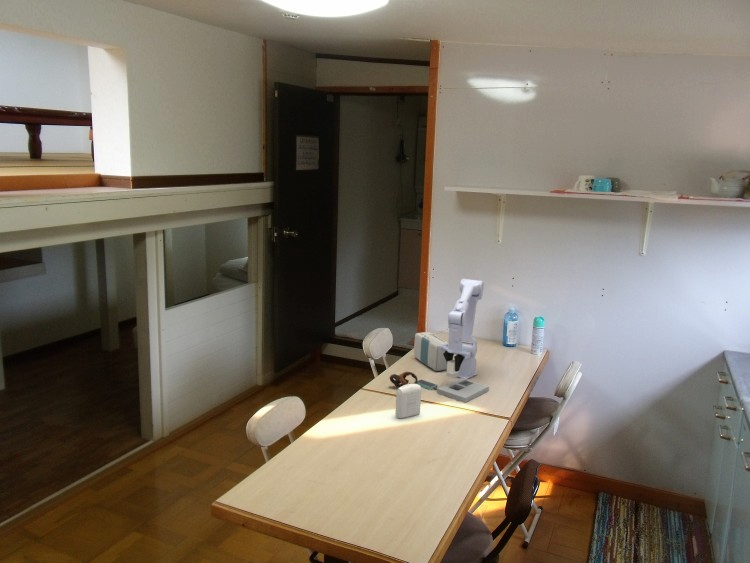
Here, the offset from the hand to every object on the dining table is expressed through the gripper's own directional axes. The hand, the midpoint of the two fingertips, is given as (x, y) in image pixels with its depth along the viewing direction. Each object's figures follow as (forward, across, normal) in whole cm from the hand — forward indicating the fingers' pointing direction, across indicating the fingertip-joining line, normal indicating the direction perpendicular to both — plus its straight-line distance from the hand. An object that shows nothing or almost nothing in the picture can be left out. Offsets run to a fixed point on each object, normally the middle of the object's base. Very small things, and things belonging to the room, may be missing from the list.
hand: (453, 369), depth 261 cm
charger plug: (+3, 0, 0) cm, 3 cm away
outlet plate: (+9, +5, +1) cm, 10 cm away
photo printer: (+9, +3, -34) cm, 35 cm away
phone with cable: (+9, -9, -5) cm, 13 cm away
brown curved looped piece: (+9, -16, -14) cm, 23 cm away
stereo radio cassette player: (+9, -26, +19) cm, 33 cm away
